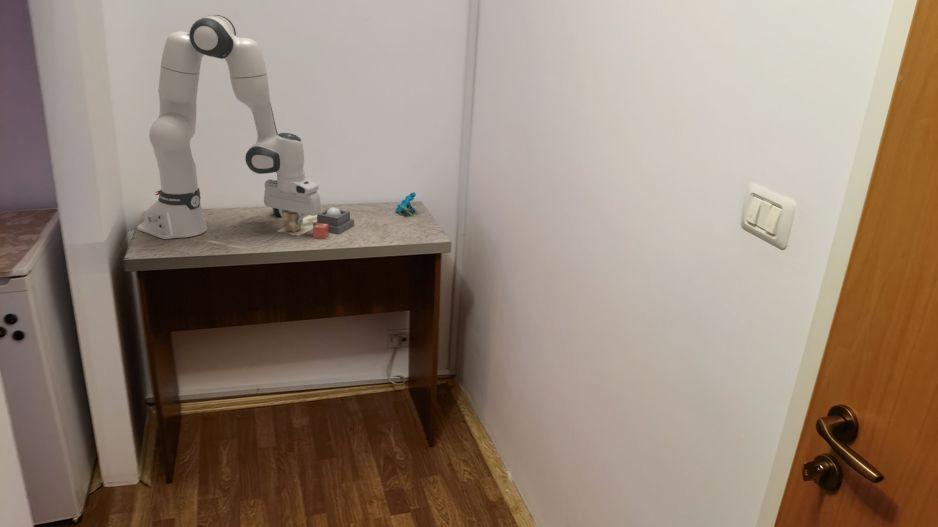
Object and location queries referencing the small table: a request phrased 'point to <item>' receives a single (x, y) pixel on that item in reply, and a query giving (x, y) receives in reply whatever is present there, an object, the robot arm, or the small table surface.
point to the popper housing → (335, 221)
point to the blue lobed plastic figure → (406, 204)
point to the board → (302, 226)
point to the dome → (333, 212)
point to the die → (321, 231)
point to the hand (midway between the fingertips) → (292, 223)
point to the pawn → (291, 221)
